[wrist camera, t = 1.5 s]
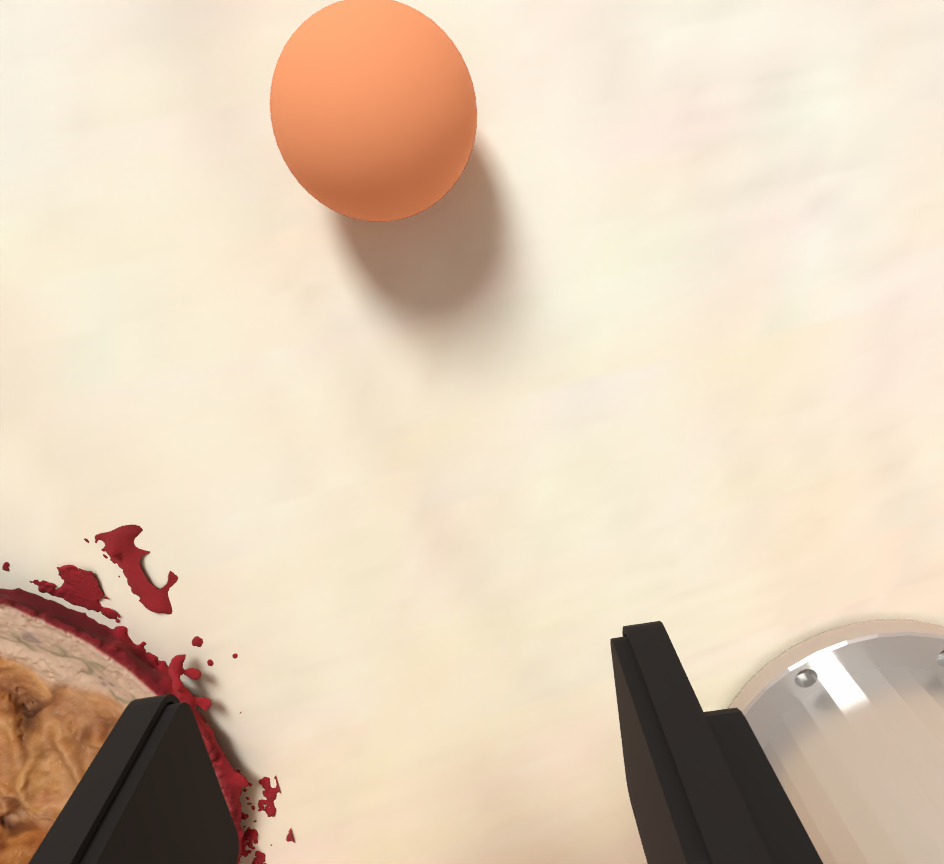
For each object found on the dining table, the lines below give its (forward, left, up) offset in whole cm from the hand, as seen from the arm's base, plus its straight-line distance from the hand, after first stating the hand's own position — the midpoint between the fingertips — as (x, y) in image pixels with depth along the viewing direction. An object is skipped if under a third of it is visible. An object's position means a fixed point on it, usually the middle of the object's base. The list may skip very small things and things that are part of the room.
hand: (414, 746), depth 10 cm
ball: (0, -10, -13) cm, 16 cm away
